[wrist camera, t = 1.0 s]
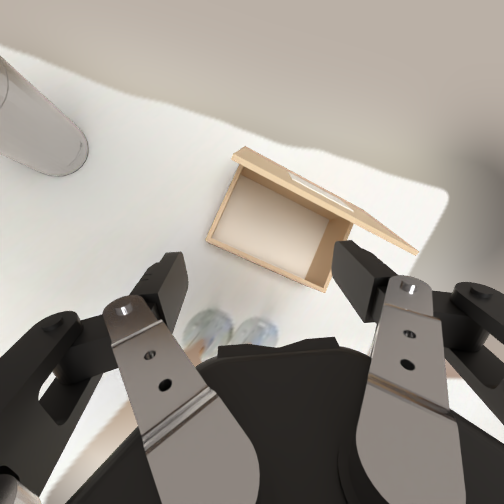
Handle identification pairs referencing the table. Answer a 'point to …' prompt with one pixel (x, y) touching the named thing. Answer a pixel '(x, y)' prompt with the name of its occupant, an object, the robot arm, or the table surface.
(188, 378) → the robot arm
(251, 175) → the box
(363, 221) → the mailer lid
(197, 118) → the table surface
